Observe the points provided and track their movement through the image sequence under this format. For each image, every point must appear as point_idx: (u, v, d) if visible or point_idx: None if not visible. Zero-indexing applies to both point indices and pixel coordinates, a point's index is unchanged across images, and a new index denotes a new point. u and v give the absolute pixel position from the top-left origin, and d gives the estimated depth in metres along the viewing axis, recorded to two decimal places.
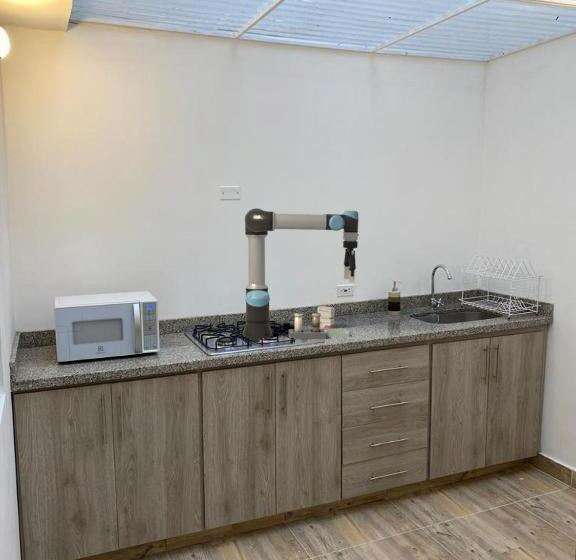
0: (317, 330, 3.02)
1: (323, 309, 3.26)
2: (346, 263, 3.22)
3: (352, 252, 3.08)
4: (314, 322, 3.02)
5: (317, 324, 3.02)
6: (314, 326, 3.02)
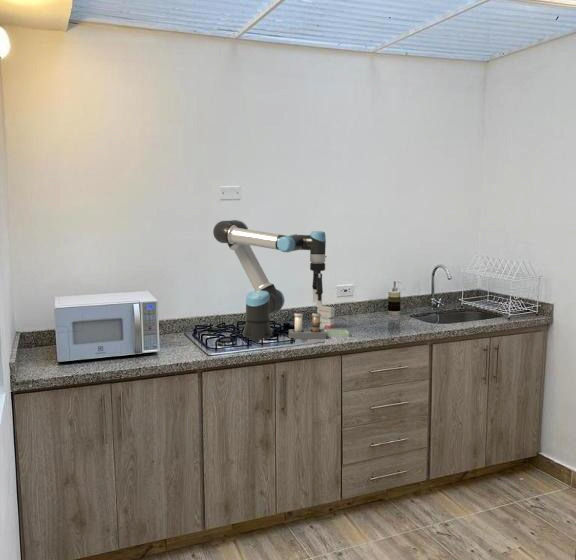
0: (317, 330, 3.02)
1: (323, 309, 3.26)
2: (314, 286, 3.07)
3: (319, 275, 2.93)
4: (314, 322, 3.02)
5: (317, 324, 3.02)
6: (314, 326, 3.02)
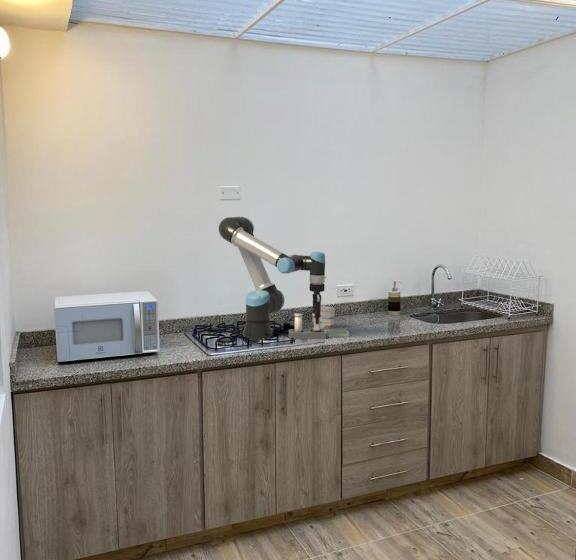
0: (317, 330, 3.02)
1: (323, 309, 3.26)
2: (314, 310, 3.05)
3: (318, 300, 2.96)
4: None
5: None
6: None
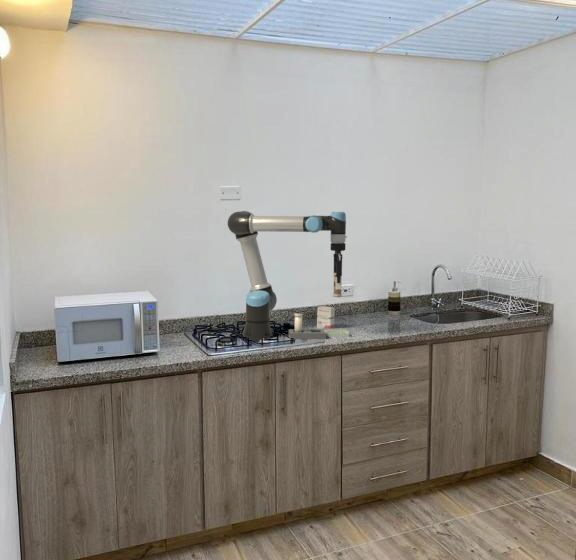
0: (338, 289, 3.05)
1: (323, 309, 3.26)
2: (335, 270, 3.08)
3: (339, 258, 2.98)
4: (335, 281, 3.05)
5: None
6: (335, 285, 3.05)
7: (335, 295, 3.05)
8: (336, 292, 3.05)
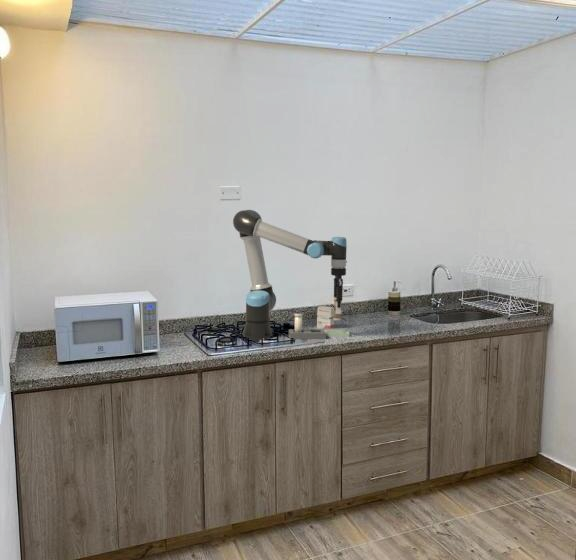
0: (339, 314, 3.07)
1: (323, 309, 3.26)
2: (336, 294, 3.10)
3: (340, 283, 3.00)
4: None
5: None
6: None
7: (335, 319, 3.08)
8: (336, 316, 3.08)
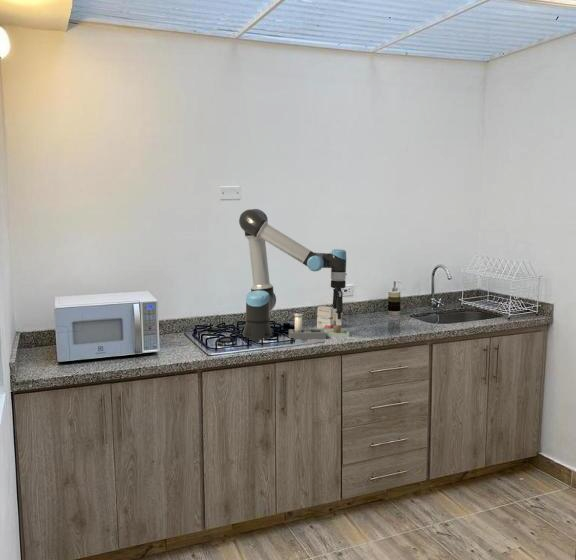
0: (338, 328, 3.08)
1: (323, 309, 3.26)
2: (335, 304, 3.13)
3: (339, 294, 3.01)
4: None
5: None
6: None
7: None
8: (336, 331, 3.09)
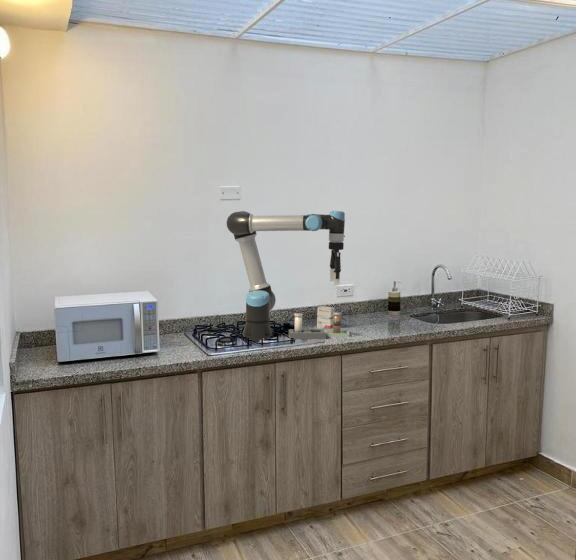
0: (338, 329, 3.08)
1: (323, 309, 3.26)
2: (332, 265, 3.12)
3: (337, 254, 2.99)
4: (335, 321, 3.08)
5: (338, 323, 3.08)
6: (335, 325, 3.08)
7: None
8: (335, 331, 3.09)
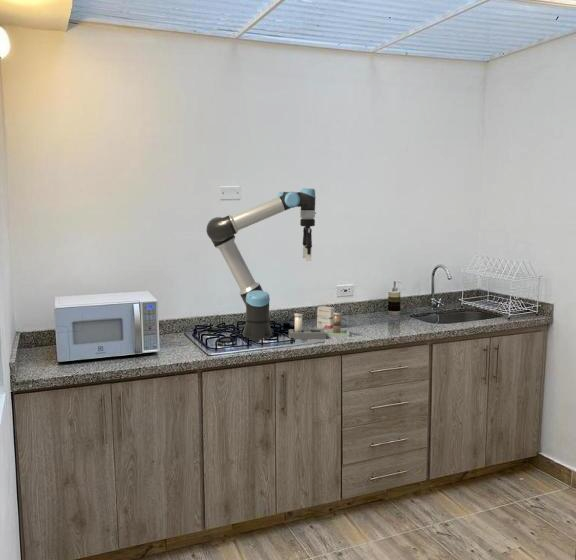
0: (338, 329, 3.08)
1: (323, 309, 3.26)
2: (304, 242, 3.19)
3: (308, 230, 3.06)
4: (335, 321, 3.08)
5: (338, 323, 3.08)
6: (335, 325, 3.08)
7: None
8: (335, 331, 3.09)
